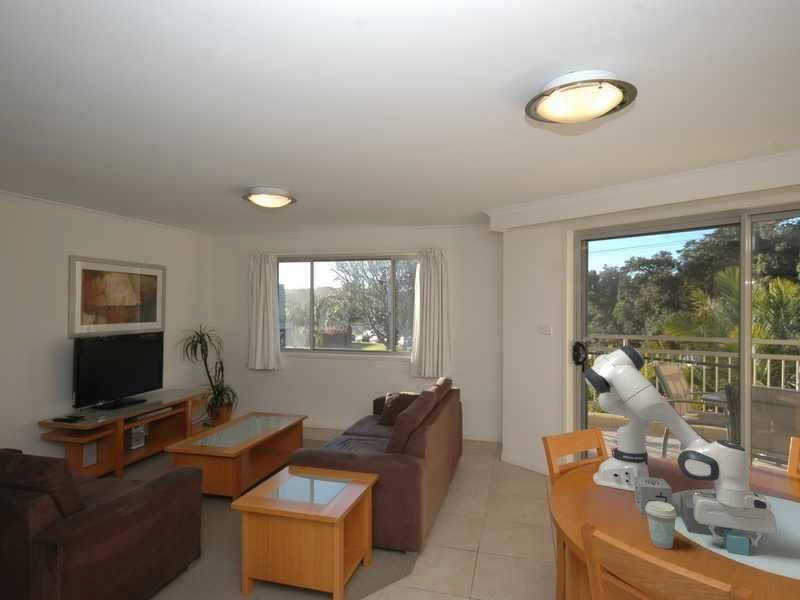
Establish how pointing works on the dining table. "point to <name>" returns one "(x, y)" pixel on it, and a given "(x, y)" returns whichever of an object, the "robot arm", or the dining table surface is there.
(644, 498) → the icon cube
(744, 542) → the teal block
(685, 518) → the grey block
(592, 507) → the dining table surface
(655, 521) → the coffee cup
